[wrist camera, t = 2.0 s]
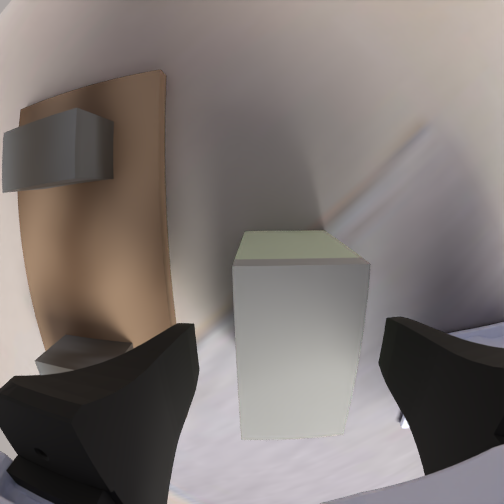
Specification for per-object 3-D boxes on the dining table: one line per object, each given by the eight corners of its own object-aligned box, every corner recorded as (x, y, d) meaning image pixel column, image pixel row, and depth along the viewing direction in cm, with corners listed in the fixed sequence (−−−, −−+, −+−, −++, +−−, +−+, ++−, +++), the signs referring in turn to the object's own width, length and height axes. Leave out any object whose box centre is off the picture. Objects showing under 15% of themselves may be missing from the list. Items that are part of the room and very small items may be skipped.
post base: (166, 75, 13) (134, 41, 9) (189, 408, 17) (174, 456, 13) (29, 111, 14) (-17, 101, 9) (67, 387, 18) (38, 421, 13)
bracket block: (324, 230, 15) (370, 264, 8) (317, 351, 16) (343, 435, 10) (244, 230, 15) (231, 266, 8) (248, 353, 17) (241, 439, 10)
